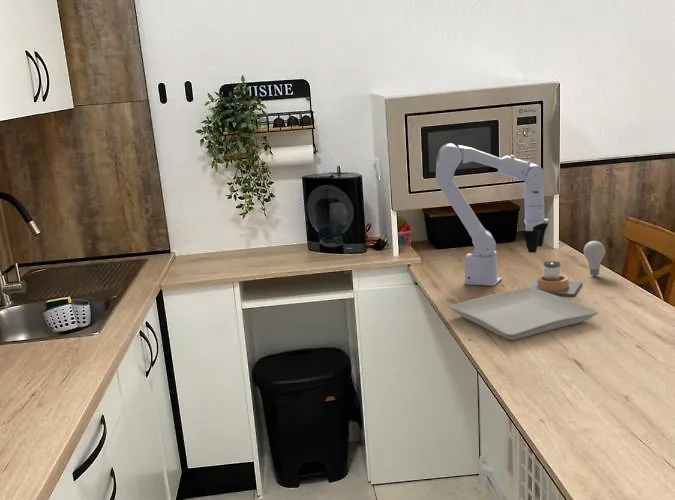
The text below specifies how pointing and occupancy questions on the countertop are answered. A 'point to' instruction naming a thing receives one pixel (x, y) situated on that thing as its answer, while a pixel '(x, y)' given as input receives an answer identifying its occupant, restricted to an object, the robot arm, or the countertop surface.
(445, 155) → the robot arm
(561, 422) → the countertop surface
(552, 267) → the silver metal cylinder
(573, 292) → the duct flange
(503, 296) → the square plate
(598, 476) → the countertop surface
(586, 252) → the lightbulb
